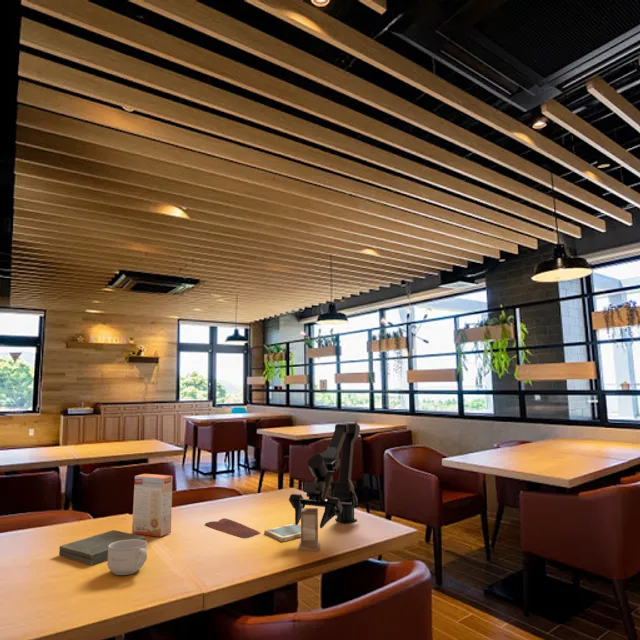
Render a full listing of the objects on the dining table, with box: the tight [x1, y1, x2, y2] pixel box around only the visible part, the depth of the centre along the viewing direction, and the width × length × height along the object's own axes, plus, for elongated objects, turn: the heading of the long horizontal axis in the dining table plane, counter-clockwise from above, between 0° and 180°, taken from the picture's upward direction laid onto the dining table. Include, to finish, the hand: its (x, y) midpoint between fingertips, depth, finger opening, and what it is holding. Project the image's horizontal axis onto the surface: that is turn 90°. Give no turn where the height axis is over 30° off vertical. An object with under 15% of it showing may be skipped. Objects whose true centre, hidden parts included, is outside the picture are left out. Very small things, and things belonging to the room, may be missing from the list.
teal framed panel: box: [263, 522, 301, 543], centre depth 172 cm, size 14×12×1 cm
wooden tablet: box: [204, 518, 261, 539], centre depth 179 cm, size 27×10×2 cm, turn 45°
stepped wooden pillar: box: [298, 507, 321, 552], centre depth 158 cm, size 7×7×12 cm
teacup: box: [107, 539, 148, 576], centre depth 137 cm, size 14×11×8 cm
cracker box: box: [131, 473, 174, 538], centre depth 176 cm, size 14×6×21 cm, turn 65°
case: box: [58, 529, 146, 566], centre depth 156 cm, size 18×4×20 cm
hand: (308, 526), depth 157 cm, fingers open, 9 cm apart
